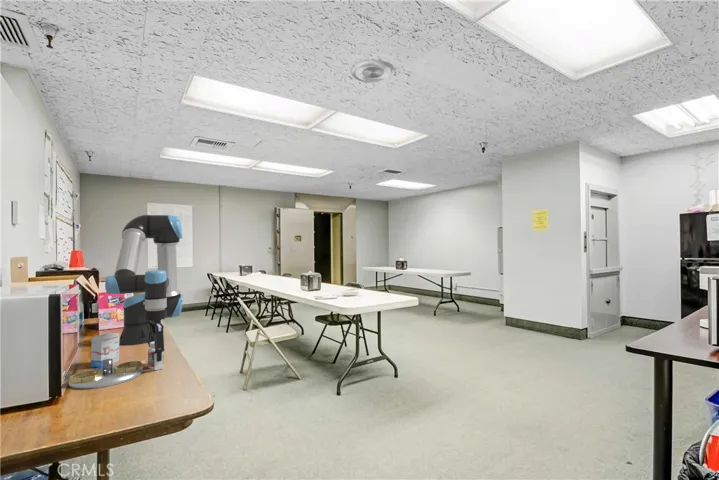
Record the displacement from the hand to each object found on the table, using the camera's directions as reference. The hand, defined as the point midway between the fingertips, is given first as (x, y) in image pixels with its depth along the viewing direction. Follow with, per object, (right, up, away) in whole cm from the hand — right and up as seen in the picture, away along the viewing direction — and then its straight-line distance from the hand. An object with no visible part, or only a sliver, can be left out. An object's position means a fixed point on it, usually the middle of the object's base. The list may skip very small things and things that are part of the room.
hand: (155, 366), depth 138 cm
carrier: (-12, 0, -10) cm, 16 cm away
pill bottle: (0, 0, 0) cm, 0 cm away
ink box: (-23, -1, +4) cm, 24 cm away
